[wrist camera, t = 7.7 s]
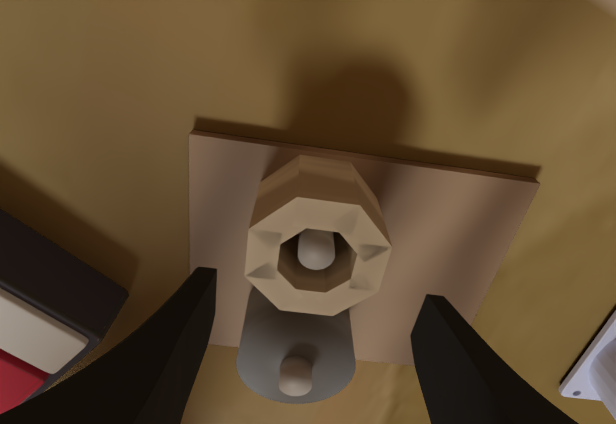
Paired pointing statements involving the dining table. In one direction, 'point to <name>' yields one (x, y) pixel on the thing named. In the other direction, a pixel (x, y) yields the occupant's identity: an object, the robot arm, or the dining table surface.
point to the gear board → (320, 254)
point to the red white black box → (46, 311)
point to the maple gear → (322, 216)
